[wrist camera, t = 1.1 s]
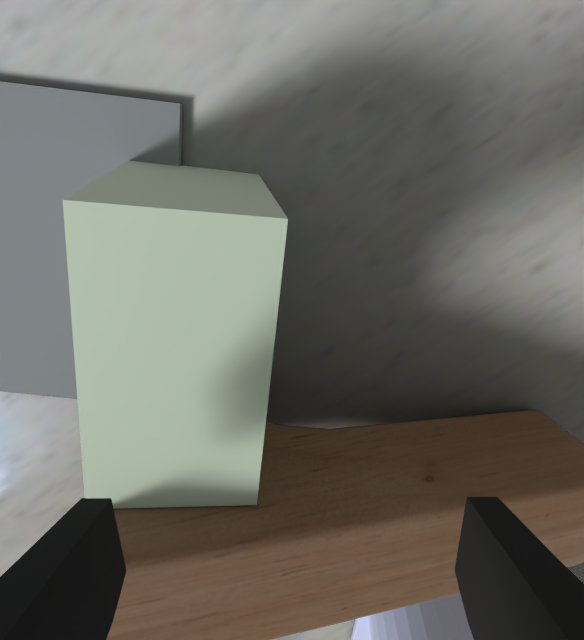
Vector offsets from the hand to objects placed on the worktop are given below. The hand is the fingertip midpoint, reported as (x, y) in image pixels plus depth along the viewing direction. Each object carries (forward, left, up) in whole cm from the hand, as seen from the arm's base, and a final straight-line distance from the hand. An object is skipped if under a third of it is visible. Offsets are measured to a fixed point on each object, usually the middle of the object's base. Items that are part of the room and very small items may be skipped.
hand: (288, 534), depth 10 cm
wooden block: (+6, +4, -5) cm, 9 cm away
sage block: (+4, -2, -10) cm, 11 cm away
